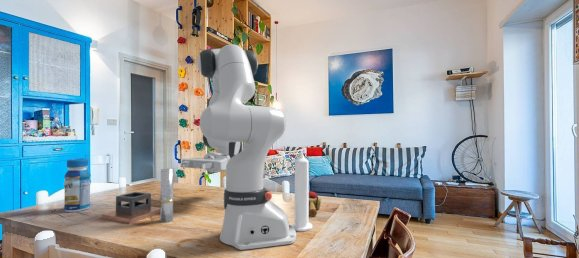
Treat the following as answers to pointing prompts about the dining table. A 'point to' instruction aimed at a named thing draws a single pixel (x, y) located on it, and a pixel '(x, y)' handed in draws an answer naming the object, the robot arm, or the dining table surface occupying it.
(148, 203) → the collar stand
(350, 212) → the dining table surface
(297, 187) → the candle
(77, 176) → the blue pill bottle
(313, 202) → the kendama
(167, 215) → the steel tube
